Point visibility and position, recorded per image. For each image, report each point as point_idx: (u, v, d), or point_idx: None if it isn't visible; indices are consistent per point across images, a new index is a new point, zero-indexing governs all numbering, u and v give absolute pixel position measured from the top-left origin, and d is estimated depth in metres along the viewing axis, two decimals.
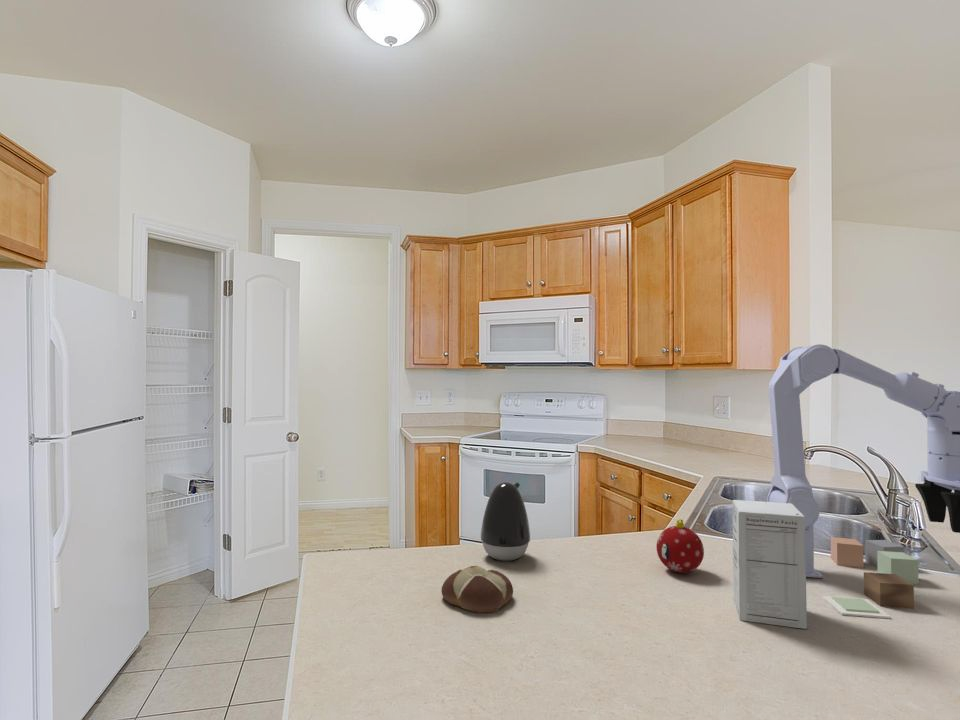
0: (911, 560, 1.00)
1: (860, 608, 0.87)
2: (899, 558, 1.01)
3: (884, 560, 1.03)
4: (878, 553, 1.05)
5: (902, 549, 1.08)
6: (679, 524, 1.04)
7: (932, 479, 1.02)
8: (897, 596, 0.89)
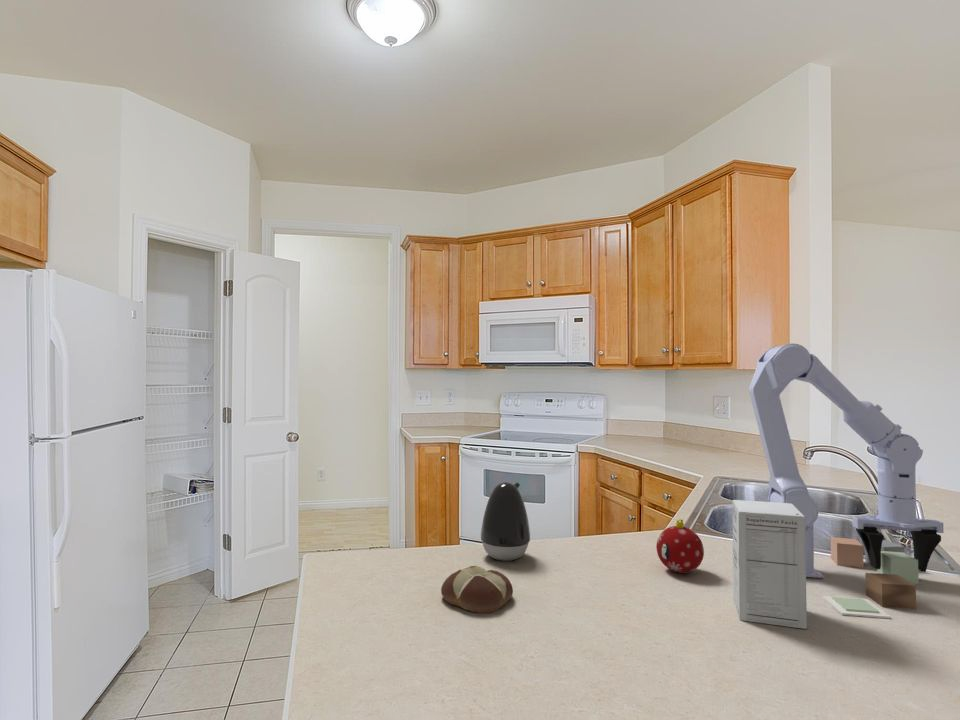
0: (911, 560, 1.00)
1: (860, 608, 0.87)
2: (899, 558, 1.01)
3: (884, 560, 1.03)
4: None
5: (902, 549, 1.08)
6: (679, 524, 1.04)
7: None
8: (900, 597, 0.89)
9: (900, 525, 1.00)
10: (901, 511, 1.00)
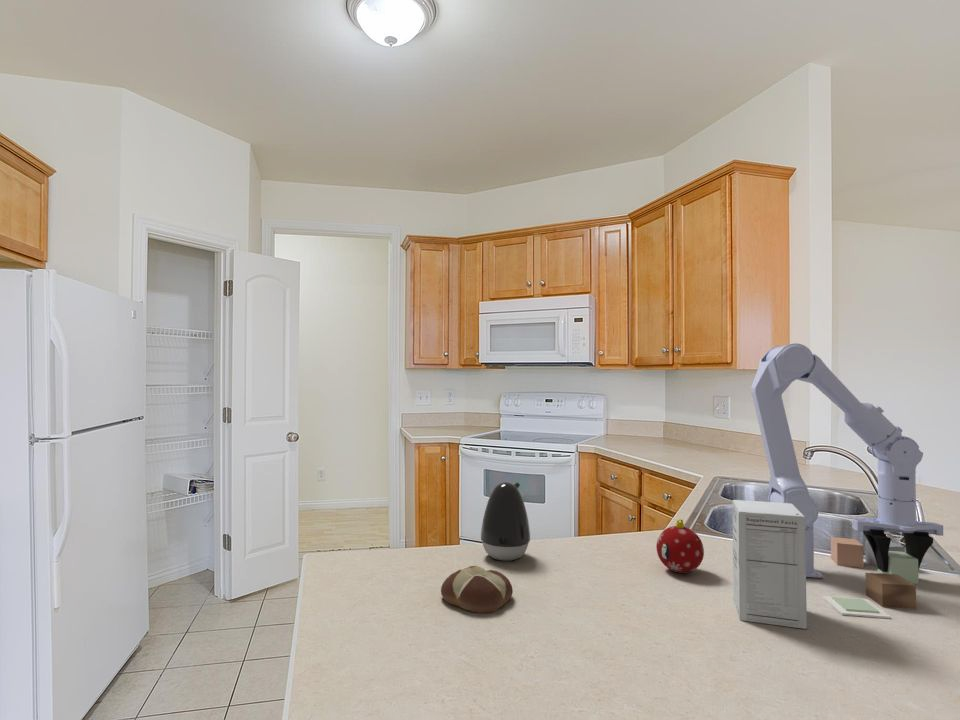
0: (911, 559, 1.00)
1: (860, 608, 0.87)
2: (899, 557, 1.01)
3: None
4: None
5: (902, 549, 1.08)
6: (679, 524, 1.04)
7: None
8: (900, 597, 0.89)
9: (900, 528, 1.00)
10: (901, 513, 1.00)
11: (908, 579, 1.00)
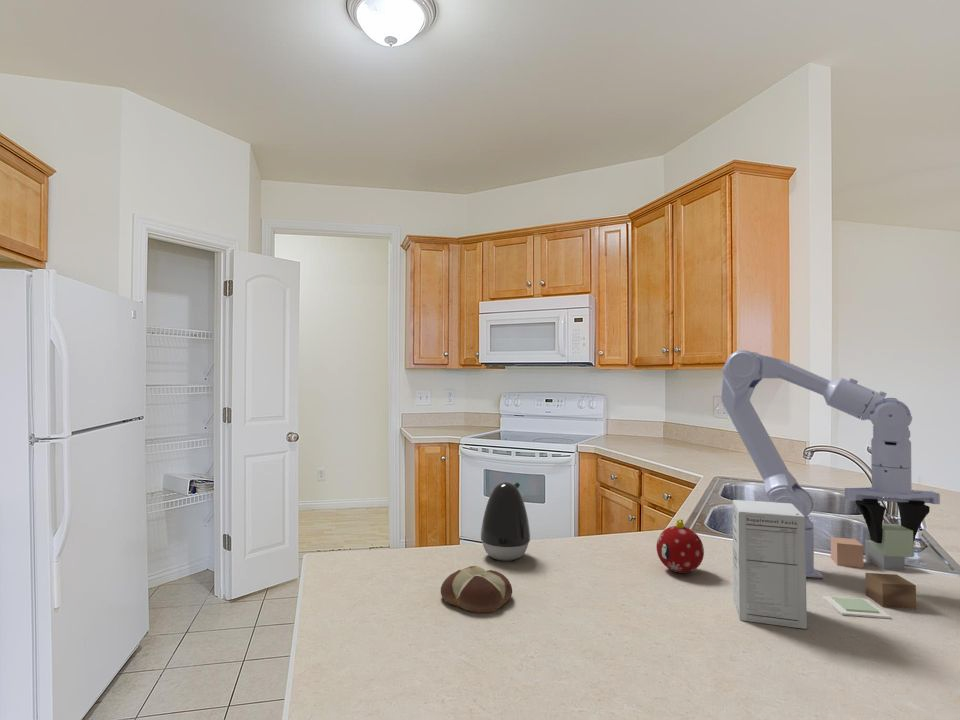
0: (906, 531, 0.95)
1: (860, 608, 0.87)
2: (893, 529, 0.95)
3: None
4: None
5: None
6: (679, 524, 1.04)
7: None
8: (900, 597, 0.89)
9: (895, 496, 0.94)
10: (896, 481, 0.95)
11: (903, 552, 0.95)
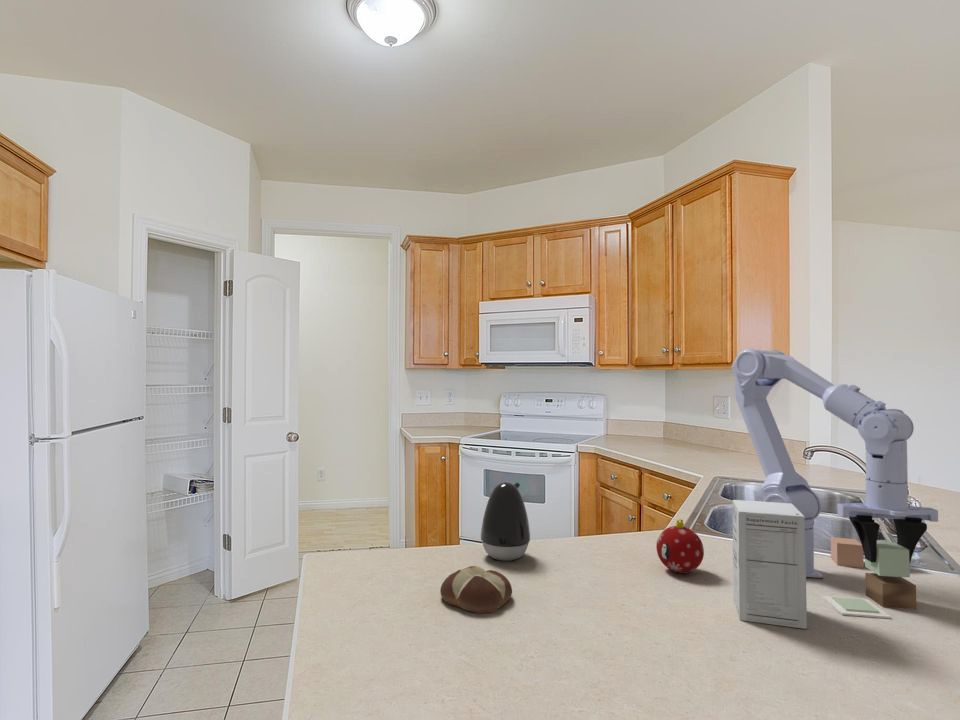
0: (901, 550, 0.90)
1: (860, 608, 0.87)
2: (888, 548, 0.91)
3: None
4: None
5: None
6: (679, 524, 1.04)
7: None
8: (900, 597, 0.89)
9: (890, 513, 0.89)
10: (891, 497, 0.90)
11: (898, 572, 0.90)
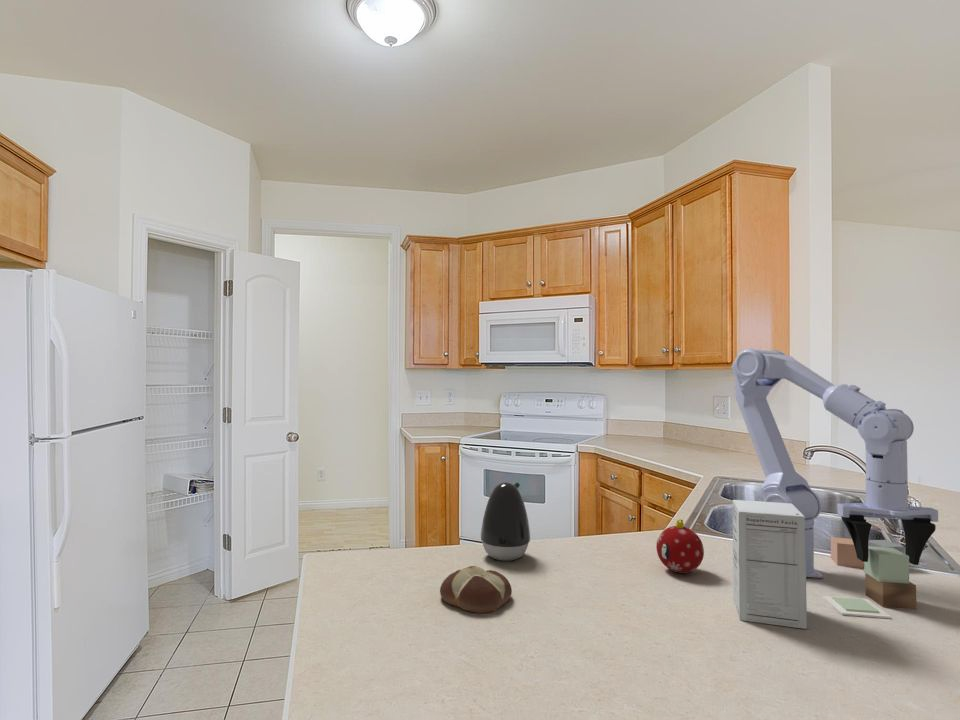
0: (901, 556, 0.90)
1: (860, 608, 0.87)
2: (888, 554, 0.90)
3: (872, 556, 0.92)
4: None
5: (902, 549, 1.08)
6: (679, 524, 1.04)
7: None
8: (900, 597, 0.89)
9: (890, 513, 0.89)
10: (891, 497, 0.90)
11: (898, 578, 0.90)
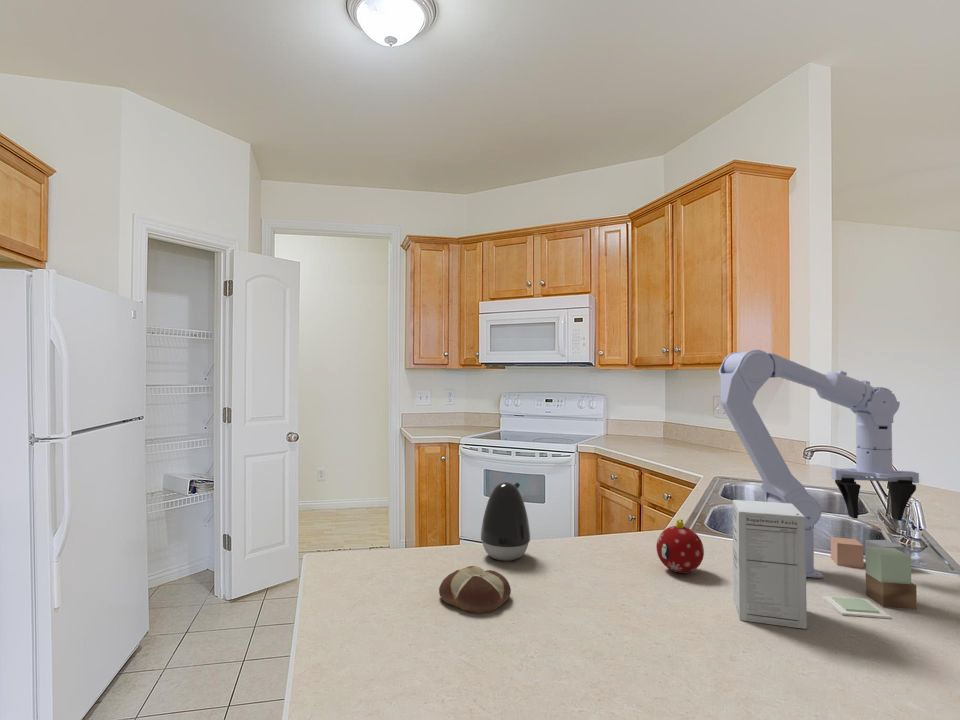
0: (903, 557, 0.90)
1: (860, 608, 0.87)
2: (890, 554, 0.90)
3: (874, 557, 0.92)
4: (867, 549, 0.94)
5: (902, 549, 1.08)
6: (679, 524, 1.04)
7: None
8: (900, 597, 0.89)
9: (876, 475, 1.03)
10: (878, 461, 1.04)
11: (900, 579, 0.89)
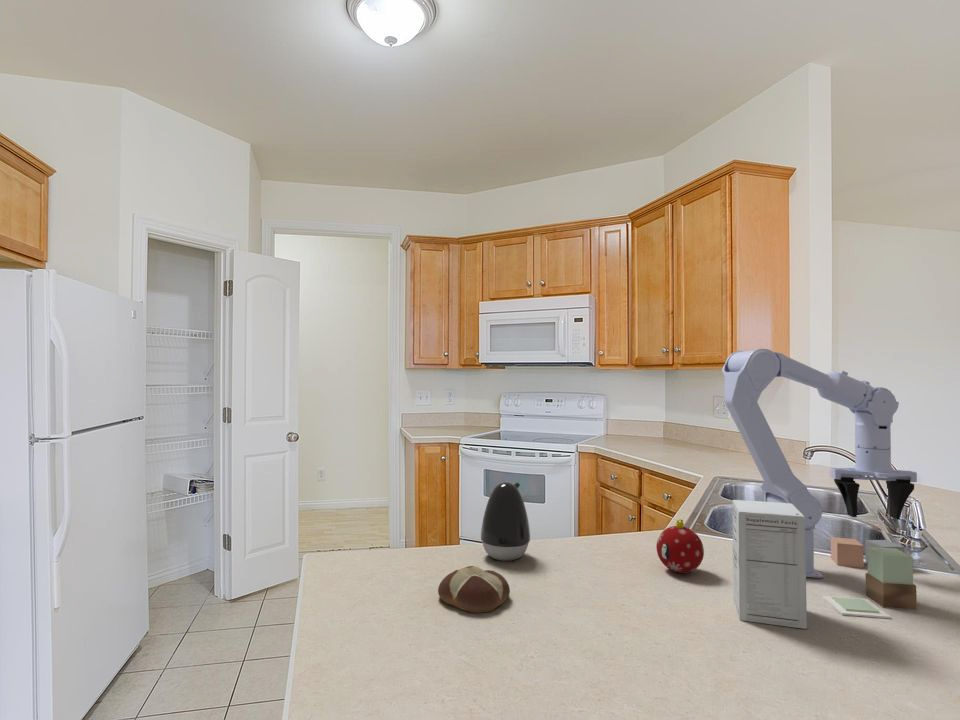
0: (905, 557, 0.89)
1: (860, 608, 0.87)
2: (892, 555, 0.90)
3: (876, 558, 0.92)
4: (868, 550, 0.94)
5: (902, 549, 1.08)
6: (679, 524, 1.04)
7: None
8: (900, 597, 0.89)
9: (875, 474, 1.04)
10: (877, 461, 1.05)
11: (902, 579, 0.89)
